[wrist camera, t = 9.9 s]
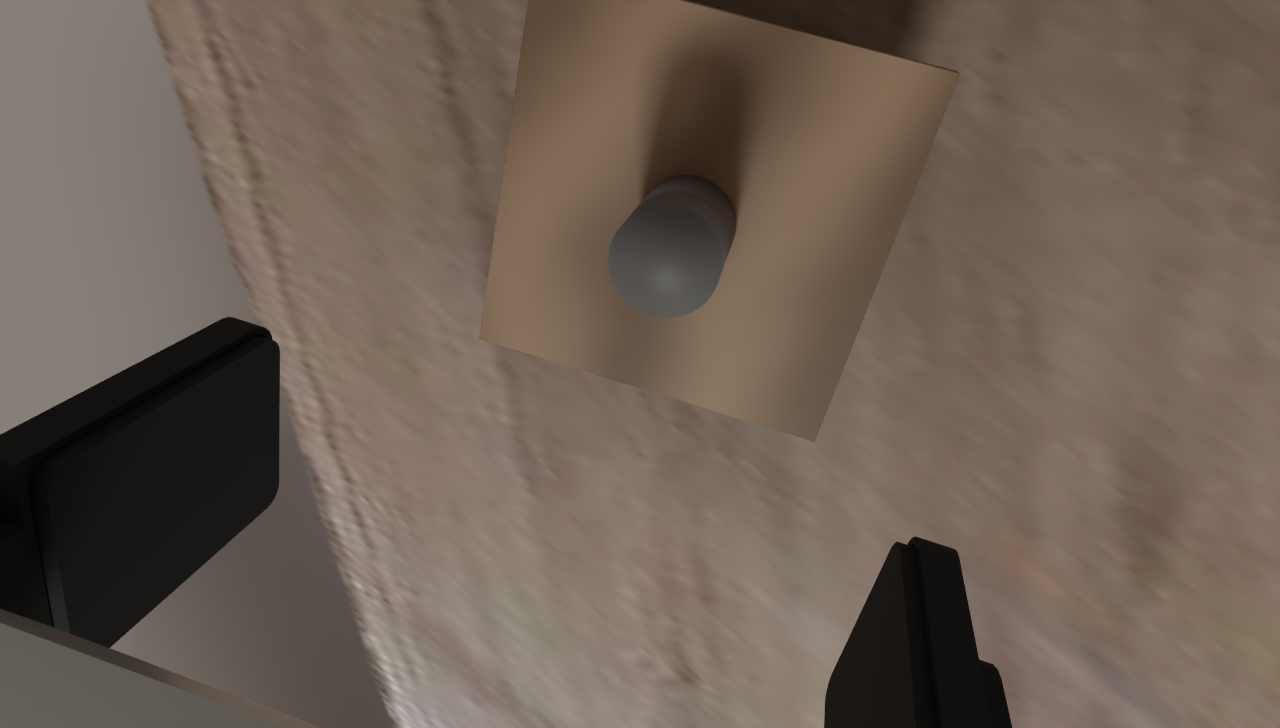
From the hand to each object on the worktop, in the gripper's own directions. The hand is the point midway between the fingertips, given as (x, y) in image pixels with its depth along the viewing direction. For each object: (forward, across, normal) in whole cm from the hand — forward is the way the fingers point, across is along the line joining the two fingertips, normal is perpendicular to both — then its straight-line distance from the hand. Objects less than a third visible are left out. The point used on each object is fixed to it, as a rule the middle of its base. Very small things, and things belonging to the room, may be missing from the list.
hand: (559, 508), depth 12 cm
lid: (+15, +1, 0) cm, 15 cm away
